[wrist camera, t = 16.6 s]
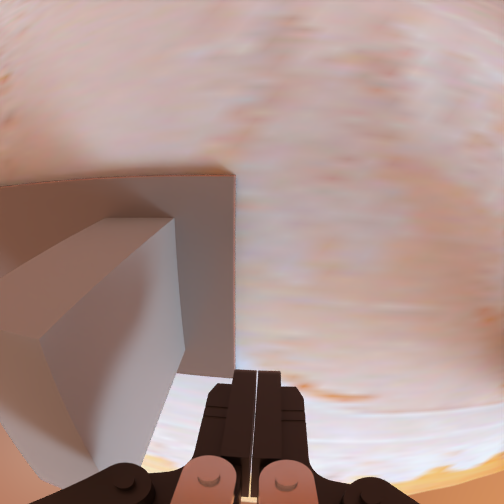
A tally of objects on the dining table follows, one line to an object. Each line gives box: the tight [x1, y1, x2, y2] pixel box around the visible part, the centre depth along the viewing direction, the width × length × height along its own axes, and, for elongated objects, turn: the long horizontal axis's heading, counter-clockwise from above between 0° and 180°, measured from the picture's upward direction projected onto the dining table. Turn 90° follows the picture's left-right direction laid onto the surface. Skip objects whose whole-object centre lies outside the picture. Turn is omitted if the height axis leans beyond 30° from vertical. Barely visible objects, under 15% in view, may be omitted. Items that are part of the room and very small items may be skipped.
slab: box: [0, 218, 185, 489], centre depth 12 cm, size 8×4×11 cm, turn 179°
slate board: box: [0, 175, 236, 378], centre depth 18 cm, size 20×12×1 cm, turn 89°
